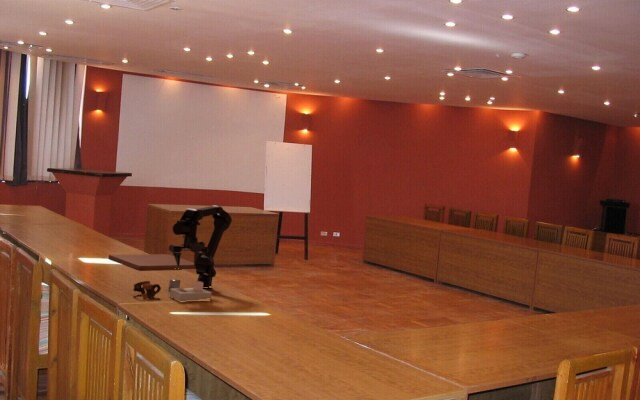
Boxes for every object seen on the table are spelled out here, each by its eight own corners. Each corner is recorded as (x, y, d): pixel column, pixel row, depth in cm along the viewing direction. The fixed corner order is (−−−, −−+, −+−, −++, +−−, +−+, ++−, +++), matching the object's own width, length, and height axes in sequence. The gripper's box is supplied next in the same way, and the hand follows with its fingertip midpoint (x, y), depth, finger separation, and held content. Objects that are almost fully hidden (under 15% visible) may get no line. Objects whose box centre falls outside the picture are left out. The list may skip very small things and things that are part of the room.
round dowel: (175, 291, 335) (177, 278, 335) (180, 293, 331) (182, 281, 331) (166, 291, 332) (167, 278, 332) (171, 293, 328) (172, 281, 328)
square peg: (197, 298, 326) (200, 281, 326) (201, 299, 324) (203, 282, 323) (191, 298, 324) (193, 281, 324) (195, 299, 322) (197, 282, 321)
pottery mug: (137, 300, 308) (133, 282, 310) (134, 305, 316) (130, 287, 318) (164, 294, 313) (159, 277, 315) (161, 299, 321) (157, 282, 323)
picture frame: (108, 259, 399) (138, 271, 376) (108, 254, 399) (139, 265, 376) (167, 259, 428) (199, 269, 405) (168, 254, 428) (200, 264, 405)
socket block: (199, 296, 331) (200, 288, 330) (210, 301, 323) (211, 292, 323) (169, 297, 320) (170, 288, 320) (179, 302, 313) (180, 293, 313)
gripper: (181, 236, 325) (177, 269, 326) (215, 237, 337) (211, 269, 338) (170, 232, 333) (166, 264, 334) (204, 234, 345) (200, 265, 346)
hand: (186, 266), depth 338 cm, fingers open, 9 cm apart
